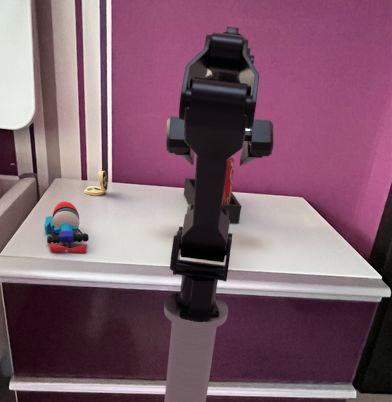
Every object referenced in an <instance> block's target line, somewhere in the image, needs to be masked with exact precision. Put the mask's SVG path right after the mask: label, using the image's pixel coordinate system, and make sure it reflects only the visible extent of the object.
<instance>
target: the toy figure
mask: <svg viewBox="0 0 392 402" xmlns="http://www.w3.org/2000/svg"><path fill="white" fill-rule="evenodd" d="M77 209H78V208H76V206H75V205H74V204H73V203H71V202H69V201H67V200H66V201H61V202H59V203H57V204H56V205H55V207H54V209H53V212H52V215H48V216H47V215H46V216H45V220H44V232H45V234H46V235H47V237H46V243H47V244H48V245H49V251H50V252H64V251H67V252H70V253H76V254H84V253H87V248H88V245H87V244H88V243H87V242H88V241H89V235H88V233H85V232H84V233H83V231H81V229H79V226H80V215H79V211H78V210H77ZM77 232H78V233H77ZM50 233H51V235H49V234H50ZM55 234H58V235H55ZM82 242H84V243H86V244H83V245H78V246H76V247H72V244H74V243H82ZM59 244H62V245H59ZM66 244H68V247H67V246H66Z"/></svg>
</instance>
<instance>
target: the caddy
mask: <svg viewBox="0 0 392 402" xmlns="http://www.w3.org/2000/svg"><path fill="white" fill-rule="evenodd" d="M194 189H195V178H192V177H191V178H189V177H185V178H184V186H183V196H184V198H185V200H186V202H187V204H188V206H189V205H190V204H194ZM222 208H226V209H228V211H229V220H230V224H239V223H240V219H241V218H240V217H241V213H242V212H241V211H242V205H241V203H240V202H239V200H238V199H237V197H236V196H235V195H234V193H233V192H232V191H231V197H230V204H222Z"/></svg>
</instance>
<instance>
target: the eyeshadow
mask: <svg viewBox="0 0 392 402" xmlns="http://www.w3.org/2000/svg"><path fill="white" fill-rule="evenodd" d="M97 173H98V176H99V186H96V185H89V186H87V187H86V188H85V189H84V190H83V192H84V194H86V195H89V196H95V197H96V196H102V195H104V194H105V192H107V190H108V186H109V182H108V175H107V173H106V171H105V170H99V171H98V172H97Z"/></svg>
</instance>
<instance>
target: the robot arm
mask: <svg viewBox="0 0 392 402" xmlns="http://www.w3.org/2000/svg"><path fill="white" fill-rule="evenodd" d="M239 30H240V28H239V27H234V26H233V27H232V26H226V31H224V32H212V33H207V34H206V36H205V41H204V48H203V49H202V50H201V51H200V52H199V53H197V55H195V56H194V57H193V58H192V59H191V60H190V61H189V62H187V64H186V66H185V67H184V74H183V80H182V85H181V90H180V98H179V107H178V116H169V117H168V119H167V120H166V137H165V138H166V139H165V141H166V145H165V146H166V147H165V148H166V152H168V153H169V154H174V155H175V156H180V157H181V158H183V159H184V160H186V161H187V162H188V163H189V164H190V165H191V166H193V165H194V164H195V172H194V173H195V175H194V179H195V189H194V204H190V205H189V204H188V206H187V208H186V213H185V214H184V219H183V226H178V230H177V231H176V233H175V234H174V235H173V237H172V238H173V239H172V247H171V252H170V263H169V270H171V271H172V275H174V276H181V281H180V290H179V291H180V292H179V293H180V294H175V297H174V298H175V301H176V305H177V308H178V312H179V315H181V316H219V315H220V312H219V309H218V307H217V304H216V302H215V297H217V289H218V281H223V282H227V280H228V273H229V265H230V260H231V259H230V258H231V250H232V241H233V236H234V235H233V232H232V233H231V232H229V230H230V224H231V223H230V220H229V211H228V209H226V208H222V202H223V194H224V187H225V180H226V172H227V165H228V159H229V158H230V157H232V156H233V157H234V155H236V154H237V153H239V152H240V151H241V153H240V155H239V167H243V166H244V165H247V164H248V163H251V162H253V161H255V160H257V159H262V158H263V157H270V156H271V155H272V153H273V150H274V123H273V122H272V121H271V120H270V119H258V118H257V119H256V118H255V115H256V107H257V101H258V100H257V99H258V91H259V82H260V74H259V72H258V70H257V69H256V67H255V65H254V62H255V54H251V50H252V48H251V46H250V45H249V39H248V38H246V37H244V35H243V34H241V33H239ZM195 157H196V158H195ZM181 258H185V259H181ZM187 259H191V260H187ZM192 259H193V260H192ZM194 260H200V261H194ZM201 261H202V262H201ZM203 261H209V262H210V263H209V262H203ZM211 262H214V263H211ZM215 262H216V263H215ZM218 263H224V264H218Z"/></svg>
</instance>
